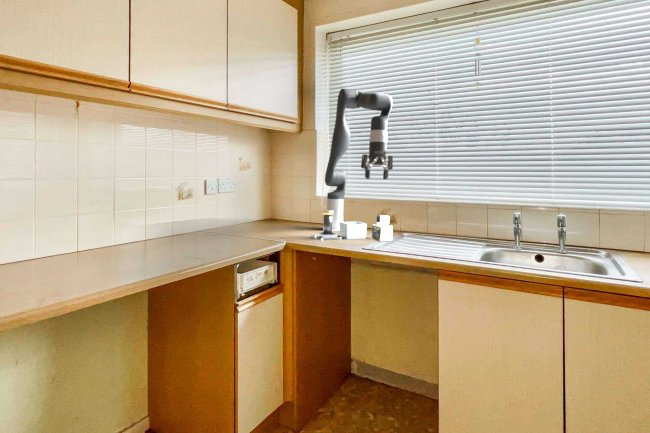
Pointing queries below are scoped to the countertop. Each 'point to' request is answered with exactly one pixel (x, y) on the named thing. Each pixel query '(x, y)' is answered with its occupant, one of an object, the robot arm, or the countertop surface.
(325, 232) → the black and gold cylinder
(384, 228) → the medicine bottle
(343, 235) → the bin
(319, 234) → the mount
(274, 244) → the countertop surface
